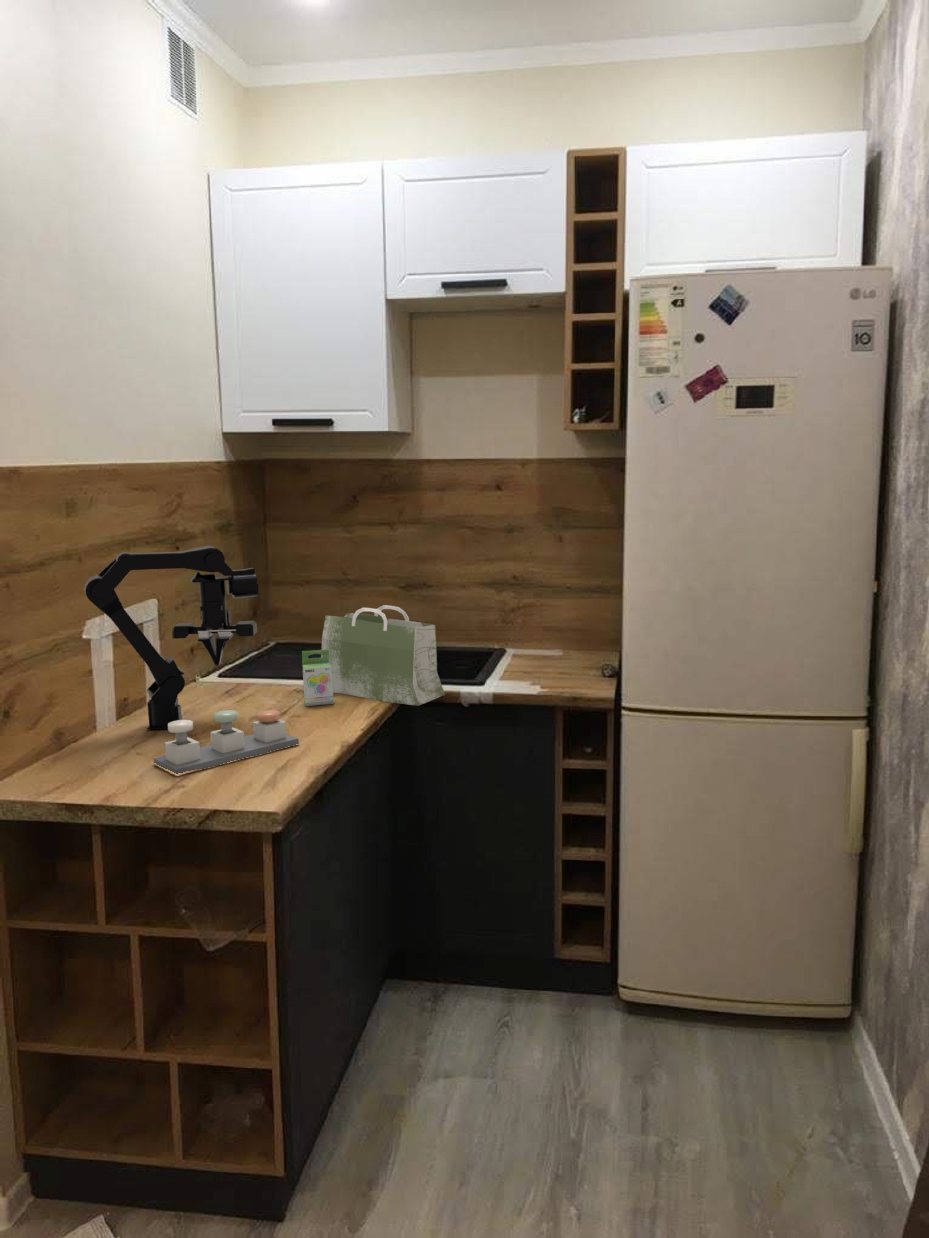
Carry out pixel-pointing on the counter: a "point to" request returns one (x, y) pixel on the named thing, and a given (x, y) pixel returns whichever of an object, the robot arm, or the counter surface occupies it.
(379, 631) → the grocery bag
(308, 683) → the ink box
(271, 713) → the terracotta button
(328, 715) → the counter surface
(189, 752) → the console
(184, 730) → the cream button
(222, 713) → the sage button
